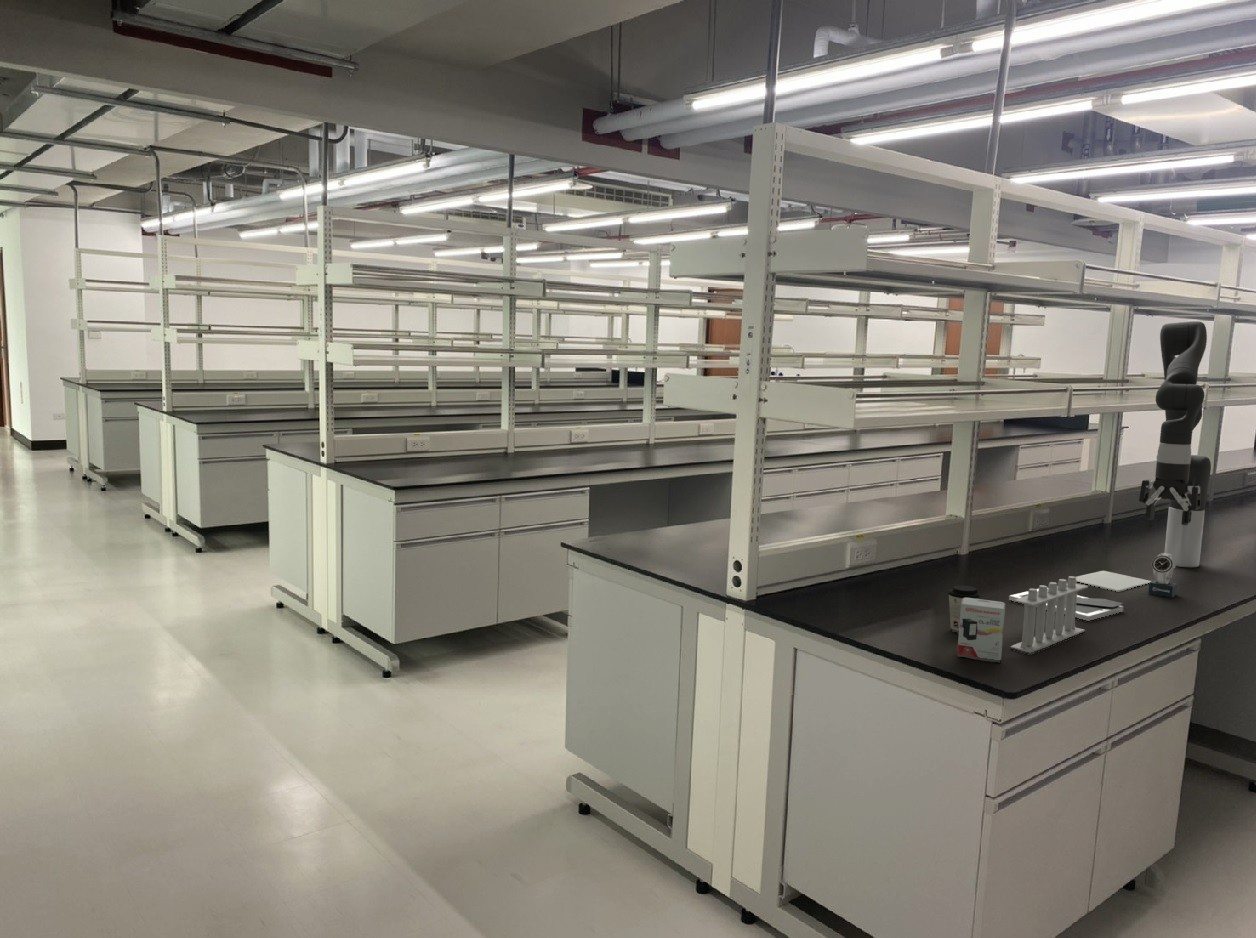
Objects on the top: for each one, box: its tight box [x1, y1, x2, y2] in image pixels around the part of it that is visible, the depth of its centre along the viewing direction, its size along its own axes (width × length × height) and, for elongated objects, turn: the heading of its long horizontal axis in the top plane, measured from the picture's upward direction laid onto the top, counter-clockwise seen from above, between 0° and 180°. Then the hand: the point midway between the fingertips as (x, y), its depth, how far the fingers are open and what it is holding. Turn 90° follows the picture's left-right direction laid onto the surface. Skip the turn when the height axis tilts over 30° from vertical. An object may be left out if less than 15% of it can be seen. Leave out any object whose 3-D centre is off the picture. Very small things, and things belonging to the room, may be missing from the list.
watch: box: [1148, 552, 1178, 599], centre depth 237 cm, size 6×8×11 cm
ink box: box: [956, 598, 1006, 661], centre depth 187 cm, size 9×5×12 cm, turn 66°
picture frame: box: [1008, 587, 1124, 622], centre depth 226 cm, size 16×3×21 cm
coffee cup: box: [947, 584, 981, 631], centre depth 204 cm, size 7×7×10 cm
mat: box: [1075, 570, 1152, 593], centre depth 251 cm, size 18×14×1 cm
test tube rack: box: [1009, 575, 1089, 653], centre depth 198 cm, size 25×4×13 cm, turn 129°
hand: (1167, 522), depth 236 cm, fingers open, 8 cm apart
